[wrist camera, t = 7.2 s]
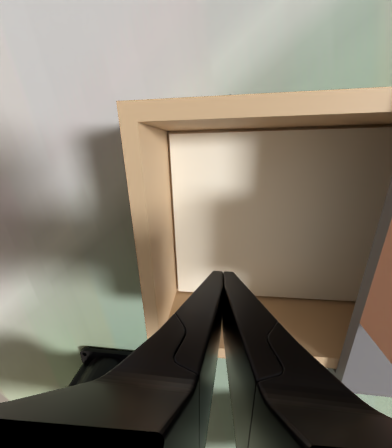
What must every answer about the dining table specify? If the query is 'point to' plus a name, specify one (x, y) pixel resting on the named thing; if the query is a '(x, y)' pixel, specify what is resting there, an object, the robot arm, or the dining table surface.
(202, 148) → the base
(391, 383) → the lid
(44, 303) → the dining table surface
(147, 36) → the dining table surface
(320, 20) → the dining table surface
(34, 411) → the robot arm
